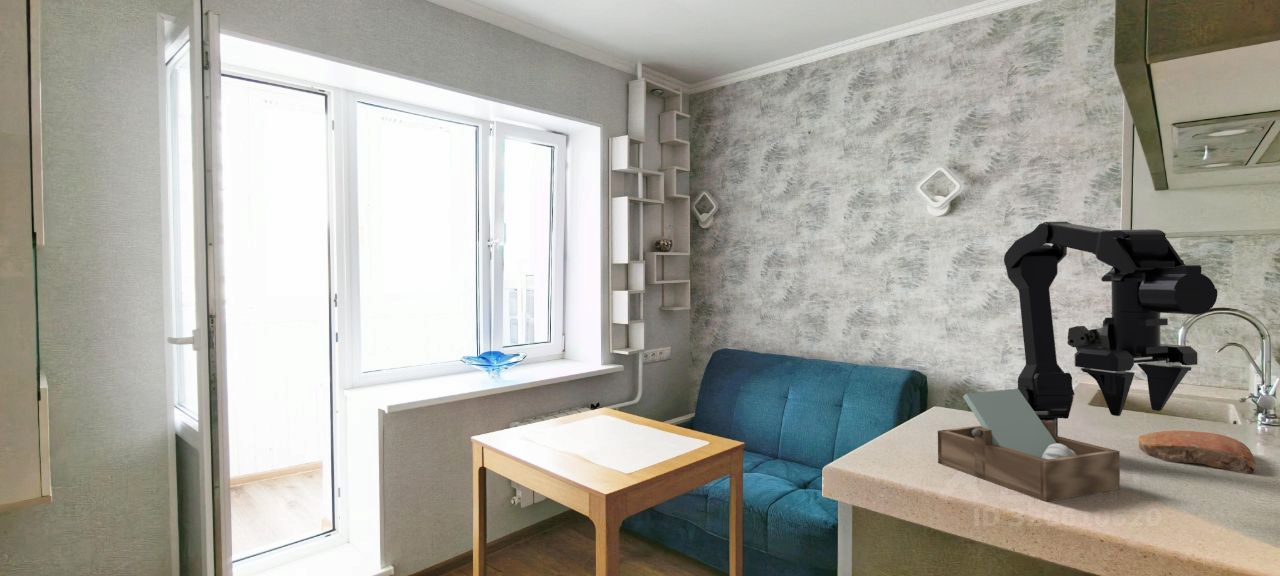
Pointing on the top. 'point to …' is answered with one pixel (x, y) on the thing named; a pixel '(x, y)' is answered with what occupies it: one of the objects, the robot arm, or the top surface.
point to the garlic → (1057, 451)
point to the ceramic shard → (1199, 449)
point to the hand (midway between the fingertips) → (1136, 413)
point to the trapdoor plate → (1010, 421)
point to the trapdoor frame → (1031, 464)
